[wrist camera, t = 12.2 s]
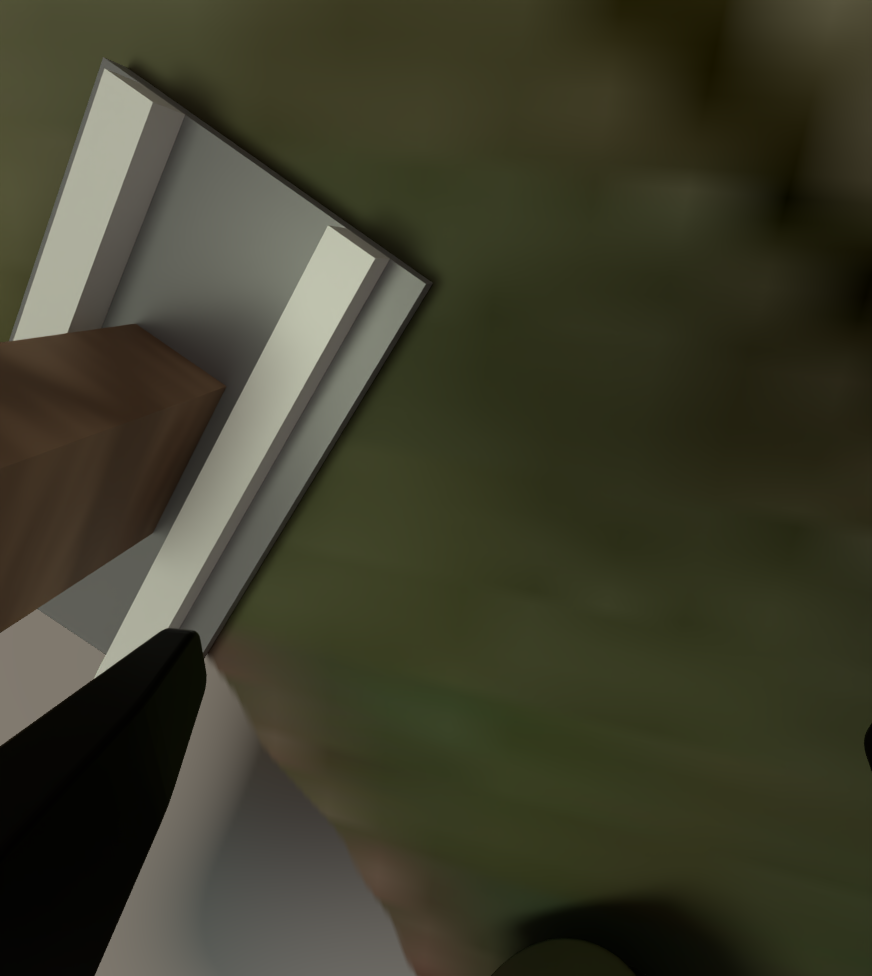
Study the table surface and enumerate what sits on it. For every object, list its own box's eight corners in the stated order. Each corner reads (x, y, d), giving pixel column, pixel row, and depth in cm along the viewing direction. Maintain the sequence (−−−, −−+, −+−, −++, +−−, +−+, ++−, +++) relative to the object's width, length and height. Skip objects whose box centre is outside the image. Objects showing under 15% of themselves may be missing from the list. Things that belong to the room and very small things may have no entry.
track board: (432, 283, 19) (414, 285, 17) (188, 685, 26) (151, 725, 24) (126, 67, 19) (63, 39, 16) (-37, 534, 26) (-96, 561, 24)
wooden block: (227, 386, 20) (-59, 489, 11) (152, 533, 23) (-131, 717, 14) (119, 312, 20) (-258, 354, 11) (57, 468, 23) (-294, 610, 13)
